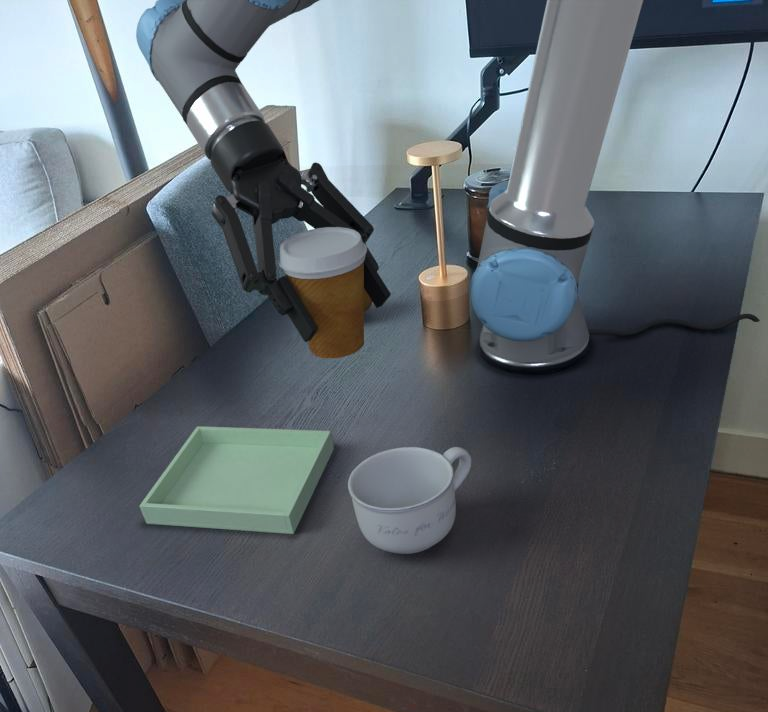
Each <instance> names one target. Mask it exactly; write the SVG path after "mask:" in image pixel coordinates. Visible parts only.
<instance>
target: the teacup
mask: <svg viewBox="0 0 768 712" xmlns="http://www.w3.org/2000/svg"><path fill="white" fill-rule="evenodd" d="M458 459H459V462H458V465H457V468H456V470H455V471H454V468H453V466H452V465H453V463H454V461H456V460H458ZM471 467H472V457H471V455H470V454H469V452H468V451H467V450H466V449H464V448H462V447H460V446H453V447H450V448H449V449H447V450H446V451H444V453H443V454H441V453H439V452H437V451H434V450H432V449H428V448H424V447H420V446H419V447H417V446H406V447H405V446H404V447H396V448H391V449H386V450H384V451H380V452H377V453H375V454H373V455H371V456H369V457H367V458H365V459H364V460H362V461H361V462H360V463H359V464H358V465H357V466H356V467H355V468H353V470H352V472H351V473H350V475H349V478H348V481H347V489H348V492H349V495H350V497H351V500H352V506H353V510H354V513H355V518H356V521H357V524H358V527H359V530H360V531H361V533H362V535H363V537H364V538H365V539H366V540H367V541H368V542H369V543H370V544H371V545H372V546H374V547H376V548H377V549H379V550H381V551H384V552H388V553H394V554H399V555H411V554H417V553H421V552H424V551H426V550H428V549H430V548H431V547H433V546H435V545H436V544H438V543H439V542H440V541H442V540H443V539H444V538H445V537H446V536H447V535H449V533H450V531H451V530H452V528H453V526H454V524H455V520H456V514H457V513H456V512H457V503H456V502H457V501H456V491H457V490H458V488H459V487H460V486H461V485H462V483H463V482H464V481H465V480H466V478H467V477H468V475H469V473H470V471H471Z"/></svg>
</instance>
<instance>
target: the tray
mask: <svg viewBox="0 0 768 712" xmlns="http://www.w3.org/2000/svg"><path fill="white" fill-rule="evenodd" d="M334 450H335V446H334V441H333V436H332V432H331V430H317V429H315V430H313V429H312V430H311V429H289V428H288V429H285V428H284V429H283V428H258V427H257V428H255V427H230V426H229V427H228V426H226V427H225V426H200V425H199V426H196V427H195V428H194V430H193V432H192V433H191V434H190V435H189V437H188V438H187V440H186V441H185V442H184V444H183V445H182V447H181V448H180V449H179V451H177V453H176V455H175V456H174V457H173V459H172V460H171V461H170V463H169V464H168V466H167V467H166V468H165V470H164V471H163V473H162V474H161V475H160V476H159V478H158V479H157V481H155V484H154V485H153V486H152V487H151V489H150V491H149V492H148V493H147V494H146V496H145V497H144V499H143V500H142V501H141V503H140V505H138V507H139V509H140V511H141V513H142V516H143V518H144V519H143V520H144V521H145V523H146V525H158V526H159V525H160V526H161V525H162V526H174V527H186V528H187V527H189V528H200V529H201V528H202V529H214V530H215V529H218V530H230V531H244V532H256V533H257V532H258V533H273V534H284V535H285V534H286V535H287V534H288V535H294V534H295V532H296V531H297V528H298V525H299V523H300V521H301V520H302V518H303V515H304V513H305V511H306V509H307V506H308V505H309V502H310V501H311V498H312V496H313V494H314V492H315V490H316V488H317V486H318V484H319V481H320V479H321V478H322V475H323V473H324V471H325V469H326V466H327V465H328V462H329V460H330V458H331V456H332V454H333V452H334Z"/></svg>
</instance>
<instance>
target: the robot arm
mask: <svg viewBox="0 0 768 712" xmlns="http://www.w3.org/2000/svg"><path fill="white" fill-rule="evenodd" d="M317 2H320V0H156V1H155V3H154V5H153V6H152V7H150V8H149V7H148V8H146V9H145V10H144V11H143V13H142V14H141V15H140V18H139V19H138V22H137V26H136V31H135V39H136V43H137V46H138V49H139V50H140V52H141V54H142V56H143V57H144V59H145V61H146V63H147V64H148V66H149V70H150V73H151V74H152V76H153V78H155V81H156V82H158V83H159V85H160V86H161V88H162V89H163V90H164V92H165V93H166V95H167V97H168V98H169V100H170V101H171V102H172V104H173V106H174V107H175V109H176V110H177V112H178V114H180V116H181V118H182V120H183V122H184V123H185V124H186V127H187V128H188V130H189V131H190V134H191V135H192V136H193V138H194V139H195V141H196V142H197V144H198V146H199V147H200V149H201V151H202V152H203V154H204V155H205V156H206V158H207V159H208V160H210V165H211V167H212V169H213V170H214V172H215V173H216V175H217V176H218V178H219V179H220V181H221V183H222V185H223V186H224V187H225V189H226V190H227V191H228V192H229V193H230V194H229V195H227V196H225V195H222V194H219V195H216V196H215V199H214V202H213V206H212V209H211V216H212V217H213V219H214V220H215V221H216V223H217V224H218V225H219V227H220V228H221V229H222V232H223V235H224V238H225V240H226V244H227V246H228V250H229V252H230V256H231V258H232V261H233V264H234V268H235V270H236V273H237V275H238V276H237V277H238V278H239V282H240V284H241V288H242V289H243V291H244V292H246V293H252V292H253V291H258V293H259V294H260V295H262V296H267V297H268V298H269V300H270V302H271V303H272V304H273V306H274V308H275V310H276V311H277V313H278V314H280V315H281V316H282V317H284V316H286V315H287V316H288V318H289V319H290V321H291V322H292V324H293V325H294V327H295V329H296V330H297V332H298V334H299V335H300V336H301V339H302V340H303V341H304V343H308V341H309V340H311V339H312V337H313V336H314V334H315V333H316V331H317V330H318V327H317V325H316V324H315V322H314V320H313V319H312V317H311V316H310V314H309V313H308V311H307V309H306V308H305V306H304V305H303V303H302V301H301V300H300V298H299V297H298V295H297V294H296V292H295V290H294V289H293V287H292V286H291V284H290V282H289V281H288V279H287V278H286V275H283V276H280V277H279V278H278V279H277V275H278V274H277V265H276V254H275V243H274V234H273V224H276V223H277V222H278V221H280V220H283V219H285V220H286V219H289V218H292V217H293V218H294V219H296V220H297V221H298V222H305V223H306V224H308V225H309V226H310V227H311V228H312V229H317V228H325V227H342V228H349V229H352V230H355V231H357V232H358V233H359V234H360V236H361V238H362V241H363V243H364V244H365V245H366V247H367V252H366V255H365V260H364V289H365V290H366V292H367V294H368V295H369V297H370V298H371V300H372V304H373V305H374V306H375V308H376V309H379V308H381V307H383V306H384V304H385V303H386V302H387V300H388V299H389V298H390V297H391V296H392V293H391V291H390V290H389V289H388V287H387V286H386V284H385V282H384V280H383V279H382V277H381V275H379V272H378V271H379V270H380V267H379V263H378V261H377V260H376V259H375V257H374V255H373V254H372V252H371V250H370V249H369V247H368V246H367V242H368V240H369V239H370V238H371V235H372V234H373V233H374V230H375V228H374V226H373V224H371V222H369V220H368V219H367V218H366V217H365V216H364V215H363V214H362V213H361V212H360V211H359V209H357V208H356V207H355V206H354V205H353V204H352V202H351V201H350V200H349V199H348V198H347V197H346V196H345V195H344V194H343V193H342V191H340V190H339V189H338V188H337V186H335V185H334V183H333V182H332V181H331V180H330V179H329V178H328V176H327V174H326V172H325V170H324V168H323V166H322V164H321V163H319V162H313V163H312V164H311V166H310V168H307V169H304V170H298V169H297V168H296V167H295V166H293V165H292V164H291V163H290V161H289V160H288V157H287V155H286V151H285V149H284V147H283V145H282V144H281V142H280V141H279V139H278V138H277V136H276V134H275V132H273V130H272V128H271V127H270V125H269V124H268V123H267V122H266V121H265V116H264V115H263V114H262V113H263V112H261V110H260V108H259V107H258V106H257V104H256V102H255V101H254V99H253V98H252V96H251V95H250V93H249V91H248V90H247V89H246V87H245V86H244V84H243V82H242V81H241V79H240V77H239V75H238V73H237V72H236V69H237V68H238V67H239V65H240V64H241V63H242V62H243V61H244V60H245V59H246V58H247V55H248V54H249V52H250V51H251V50H252V49H253V47H254V46H255V45H256V44H257V42H258V41H259V40H260V38H261V37H262V35H264V33H265V32H266V31H267V30H268V28H269V27H271V26H272V25H275V24H276V23H278V22H280V21H282V20H284V19H286V18H287V17H289V16H291V15H293V14H295V13H299V12H301V11H304V10H306V9H307V8H310V7H311V6H313V5H314V4H316V3H317ZM643 3H644V0H546V4H545V9H544V13H543V18H542V22H541V28H540V33H539V37H538V41H537V47H536V51H535V56H534V60H533V65H532V70H531V75H530V79H529V83H528V88H527V93H526V97H525V104H524V107H523V112H522V117H521V122H520V127H519V131H518V136H517V139H516V145H515V151H514V154H513V160H512V165H511V168H510V169H511V170H510V174H509V179H508V180H504V181H501V182H498V183H496V184H494V185H493V186H492V187H491V189H490V190H489V192H488V193H489V194H488V204H487V205H486V208H487V210H488V213H487V217H486V221H485V227H484V231H483V236H482V241H481V247H480V252H479V256H478V260H477V266H476V268H475V271H474V272H473V274H472V276H471V280H470V288H469V289H470V301H471V307H472V309H473V312H474V314H475V316H476V317H477V319H478V320H479V321H480V323H481V324H482V328H481V331H480V335H479V353H480V356H481V357H482V359H483V360H484V362H486V363H487V364H489V365H490V366H492V367H494V368H497V369H499V370H502V371H505V372H509V373H515V374H524V375H525V374H526V375H527V374H528V375H535V374H537V375H538V374H546V373H552V372H557V371H561V370H563V369H567V368H569V367H571V366H573V365H575V364H577V363H579V362H580V361H581V360H582V359H583V358H584V357H585V356H586V354H587V353H588V351H589V344H590V335H604V336H605V335H607V336H616V337H617V336H618V337H628V336H629V337H630V336H634V335H636V334H640V333H642V332H644V331H646V330H647V329H649V328H652V327H653V326H657V325H658V326H659V325H663V324H665V325H666V324H671V325H678V326H682V327H686V328H690V329H694V330H701V331H717V330H720V329H723V328H726V327H729V326H731V325H733V324H735V323H737V322H739V321H741V320H745V319H747V320H751V322H754V323H759V322H760V319H759V317H757V316H756V315H754V314H752V313H742V314H739V315H736V316H734V317H732V318H729V319H727V320H726V321H723V322H720V323H716V324H700V323H694V322H690V321H687V320H682V319H677V318H659V319H658V318H657V319H654V320H650V321H649V322H646V323H644V324H642V325H641V326H639V327H637V328H634V329H629V330H617V329H601V328H599V329H594V328H593V329H591V328H588V326H587V322H586V318H585V315H584V312H583V308H582V305H581V302H580V298H579V281H580V279H579V278H580V275H581V271H582V267H583V264H584V261H585V257H586V253H587V250H588V247H589V243H590V240H591V237H592V233H593V230H594V227H595V220H594V218H593V216H592V214H591V212H590V211H589V209H588V207H587V205H586V204H587V200H588V197H589V193H590V190H591V187H592V183H593V179H594V175H595V171H596V168H597V165H598V161H599V157H600V154H601V151H602V147H603V144H604V140H605V136H606V133H607V130H608V126H609V122H610V119H611V115H612V112H613V109H614V105H615V103H616V102H615V101H616V98H617V94H618V91H619V87H620V84H621V81H622V76H623V73H624V69H625V66H626V63H627V60H628V55H629V52H630V49H631V46H632V45H631V44H632V41H633V38H634V36H635V35H634V34H635V31H636V28H637V24H638V20H639V16H640V13H641V10H642V6H643ZM302 185H303V186H304V187H305V188H306V189H305V188H304V187H302ZM301 203H302V205H301V207H300V204H301ZM239 210H240V211H242V212H244V213H246V214H247V215H249V216H251V218H252V231H253V234H254V235H255V248H256V261H257V266H256V263H255V259H254V256H253V254H252V251H251V249H250V245H249V243H248V240H247V236H246V234H245V231H244V228H243V226H242V223H241V219H240V217H239V214H238V212H239Z"/></svg>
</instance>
